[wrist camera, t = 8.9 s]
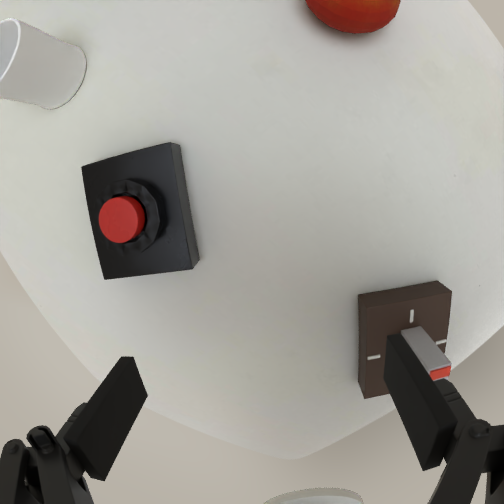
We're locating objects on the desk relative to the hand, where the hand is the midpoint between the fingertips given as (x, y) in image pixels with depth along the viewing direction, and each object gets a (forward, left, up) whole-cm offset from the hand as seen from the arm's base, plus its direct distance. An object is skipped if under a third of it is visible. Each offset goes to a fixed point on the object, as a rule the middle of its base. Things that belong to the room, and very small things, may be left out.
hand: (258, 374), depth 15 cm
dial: (-10, -14, -14) cm, 23 cm away
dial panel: (-10, -14, -18) cm, 25 cm away
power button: (+8, +12, -13) cm, 19 cm away
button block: (+8, +12, -18) cm, 23 cm away
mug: (+27, +23, -18) cm, 39 cm away
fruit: (+27, -12, -18) cm, 35 cm away
